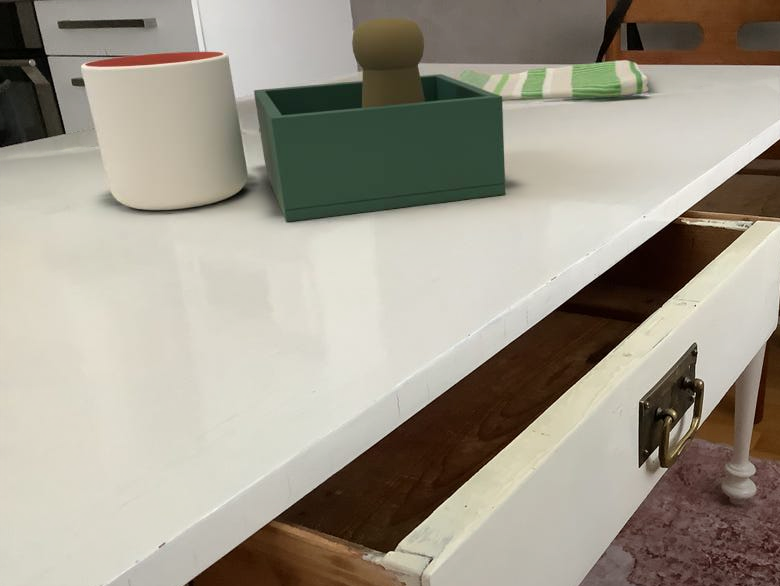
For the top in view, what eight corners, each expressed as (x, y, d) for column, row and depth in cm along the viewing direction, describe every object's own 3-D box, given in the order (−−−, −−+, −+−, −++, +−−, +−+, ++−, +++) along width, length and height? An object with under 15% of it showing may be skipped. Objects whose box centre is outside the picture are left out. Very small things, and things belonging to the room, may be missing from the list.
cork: (349, 170, 66) (331, 20, 62) (418, 159, 69) (407, 14, 64) (378, 185, 62) (362, 23, 57) (452, 172, 64) (442, 16, 59)
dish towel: (463, 86, 115) (461, 65, 114) (636, 80, 113) (637, 58, 112) (448, 107, 99) (446, 82, 98) (650, 100, 97) (651, 75, 96)
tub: (266, 175, 70) (253, 90, 67) (447, 155, 74) (442, 73, 71) (286, 222, 57) (270, 118, 54) (505, 194, 61) (502, 96, 58)
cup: (276, 191, 65) (255, 53, 60) (156, 222, 58) (123, 69, 54) (205, 176, 71) (181, 49, 67) (89, 202, 64) (55, 64, 60)
